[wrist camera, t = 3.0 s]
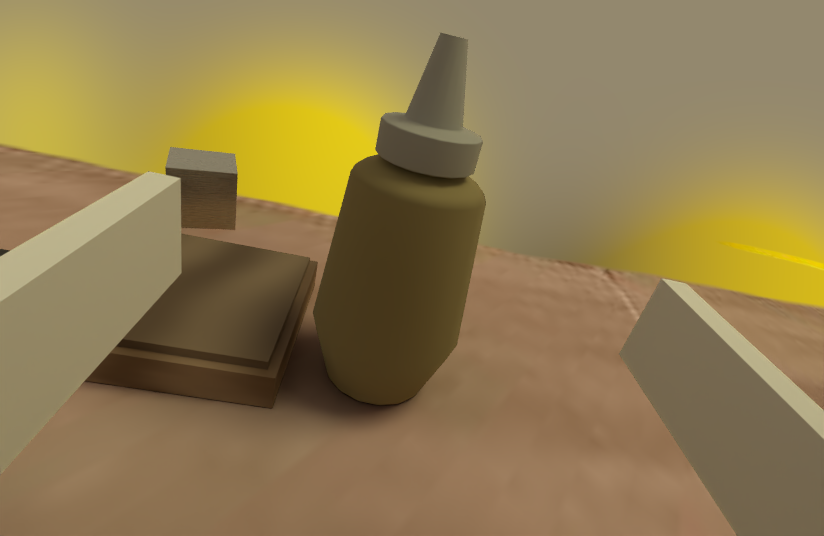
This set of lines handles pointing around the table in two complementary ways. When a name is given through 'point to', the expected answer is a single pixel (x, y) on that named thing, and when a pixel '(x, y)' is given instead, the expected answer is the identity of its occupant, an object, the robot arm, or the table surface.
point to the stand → (217, 326)
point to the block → (205, 187)
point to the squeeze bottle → (404, 243)
